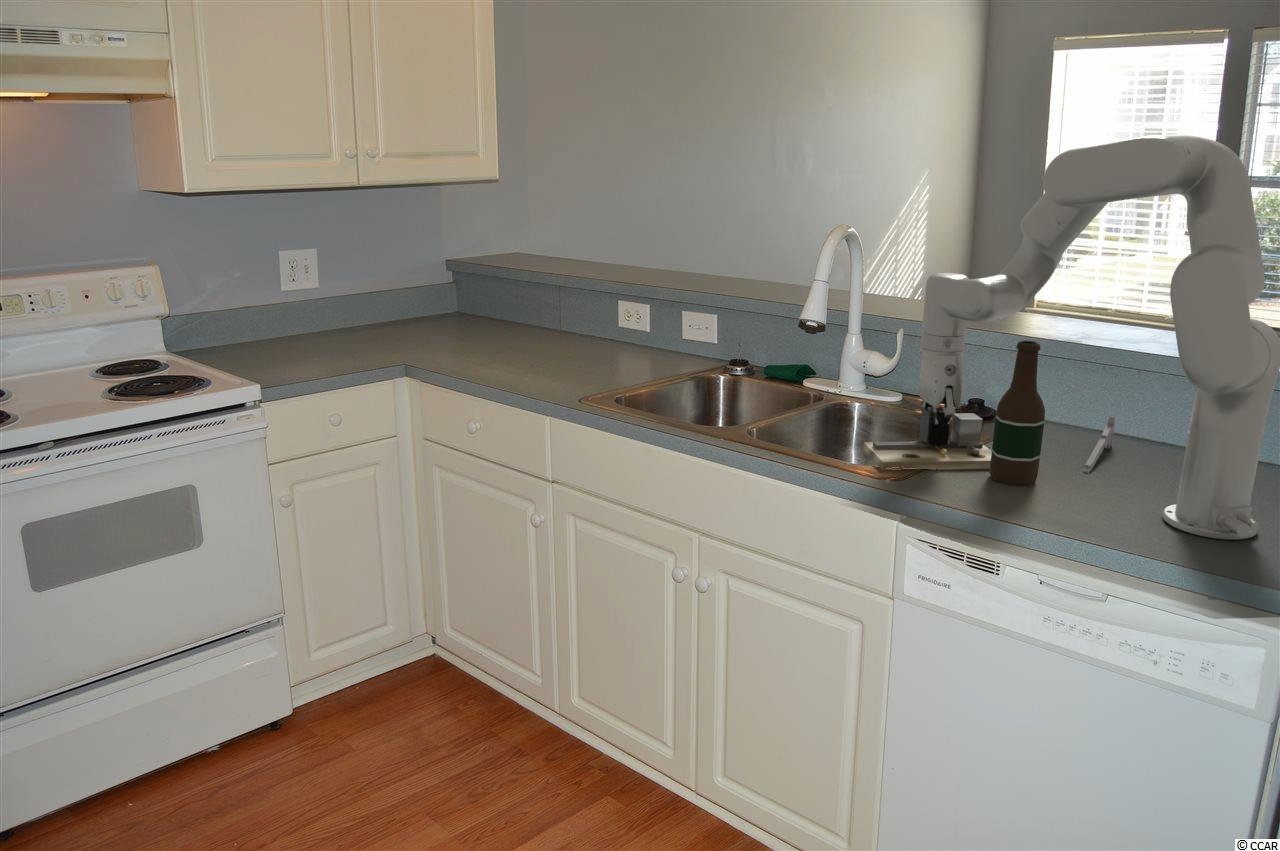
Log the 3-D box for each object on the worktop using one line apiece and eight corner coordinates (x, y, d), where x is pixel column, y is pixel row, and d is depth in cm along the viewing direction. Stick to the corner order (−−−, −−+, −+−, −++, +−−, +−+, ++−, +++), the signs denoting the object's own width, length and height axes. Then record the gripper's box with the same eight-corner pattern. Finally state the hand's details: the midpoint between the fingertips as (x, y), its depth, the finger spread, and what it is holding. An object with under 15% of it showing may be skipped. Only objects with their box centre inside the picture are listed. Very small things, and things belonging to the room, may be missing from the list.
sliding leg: (955, 455, 179) (959, 418, 177) (933, 455, 179) (937, 418, 177) (939, 442, 187) (943, 406, 185) (918, 442, 186) (921, 407, 185)
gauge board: (1003, 468, 178) (1008, 429, 176) (882, 470, 176) (885, 430, 174) (977, 448, 189) (981, 411, 187) (863, 449, 188) (865, 412, 186)
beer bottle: (992, 469, 177) (1007, 336, 171) (1038, 476, 174) (1056, 340, 167) (985, 482, 170) (1001, 344, 164) (1034, 489, 167) (1052, 348, 161)
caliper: (1105, 446, 192) (1110, 414, 191) (1111, 447, 192) (1116, 415, 190) (1082, 473, 176) (1087, 439, 174) (1088, 475, 176) (1093, 440, 174)
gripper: (981, 352, 172) (970, 454, 177) (945, 334, 188) (937, 427, 193) (939, 352, 171) (929, 454, 176) (906, 334, 187) (898, 428, 192)
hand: (933, 439), depth 184 cm, fingers closed on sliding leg, 4 cm apart
